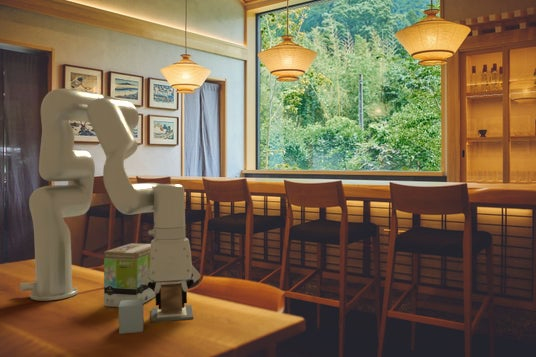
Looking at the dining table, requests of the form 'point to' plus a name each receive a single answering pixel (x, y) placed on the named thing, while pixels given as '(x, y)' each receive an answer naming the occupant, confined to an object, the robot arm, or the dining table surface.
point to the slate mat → (171, 314)
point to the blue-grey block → (131, 316)
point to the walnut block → (171, 296)
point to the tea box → (126, 274)
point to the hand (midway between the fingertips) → (171, 306)
